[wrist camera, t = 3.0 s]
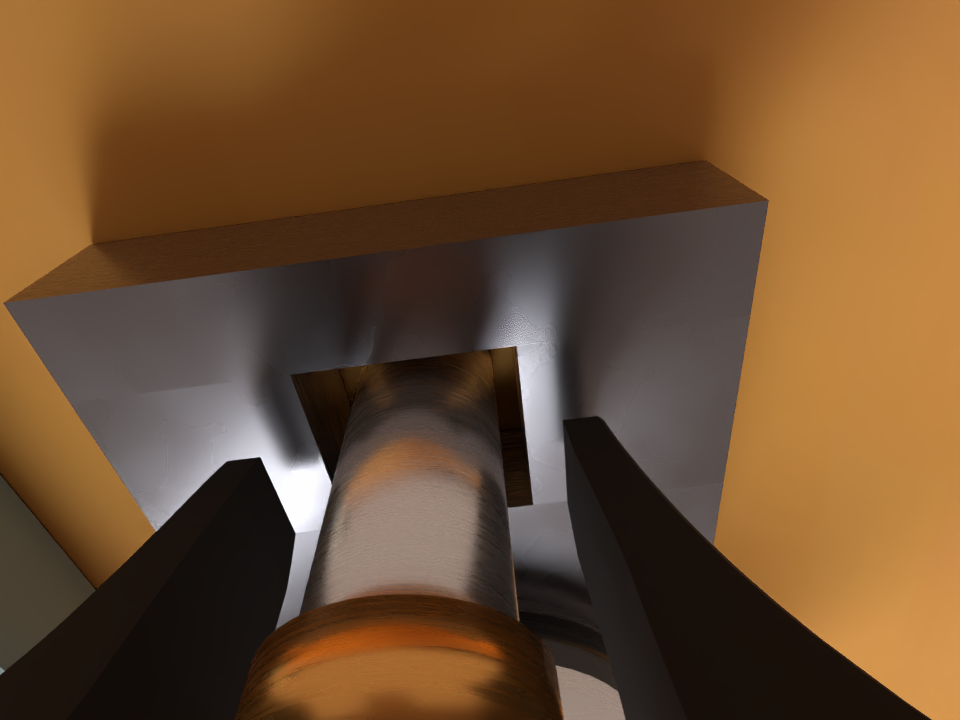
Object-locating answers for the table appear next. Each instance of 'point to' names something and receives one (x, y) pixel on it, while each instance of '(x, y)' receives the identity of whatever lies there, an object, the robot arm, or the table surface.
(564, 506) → the bracket
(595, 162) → the table surface
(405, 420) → the lock pin
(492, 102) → the table surface
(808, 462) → the table surface
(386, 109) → the table surface
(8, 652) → the tray
